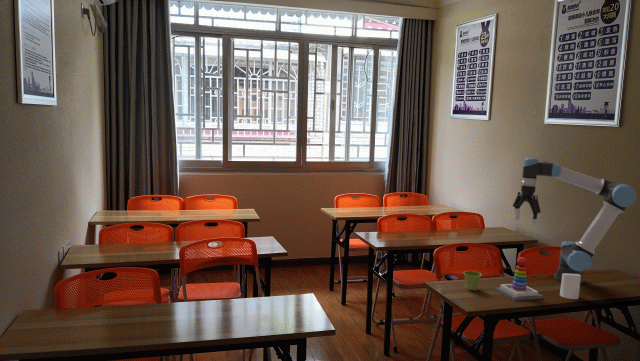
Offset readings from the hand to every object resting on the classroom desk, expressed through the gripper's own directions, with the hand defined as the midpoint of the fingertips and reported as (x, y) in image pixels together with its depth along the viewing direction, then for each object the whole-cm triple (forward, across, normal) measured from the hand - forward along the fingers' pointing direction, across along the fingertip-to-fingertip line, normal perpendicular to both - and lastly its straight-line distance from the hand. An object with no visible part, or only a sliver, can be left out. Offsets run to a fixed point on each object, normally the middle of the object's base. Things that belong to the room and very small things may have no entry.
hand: (524, 222), depth 294 cm
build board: (+35, +21, -17) cm, 44 cm away
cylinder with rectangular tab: (+35, +28, +10) cm, 46 cm away
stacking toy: (+33, +21, -17) cm, 43 cm away
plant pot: (+35, +8, -38) cm, 52 cm away
